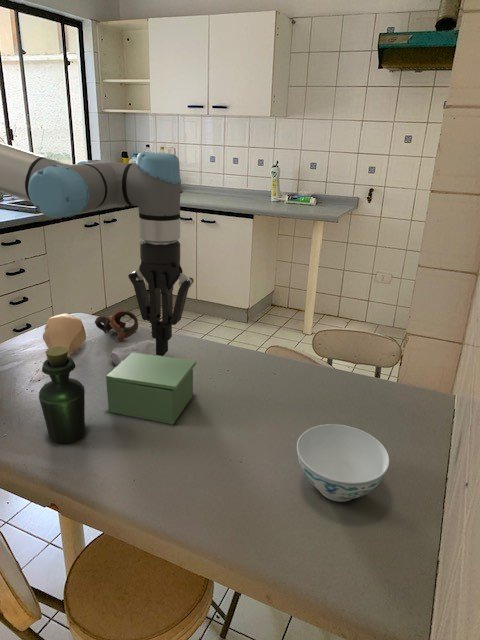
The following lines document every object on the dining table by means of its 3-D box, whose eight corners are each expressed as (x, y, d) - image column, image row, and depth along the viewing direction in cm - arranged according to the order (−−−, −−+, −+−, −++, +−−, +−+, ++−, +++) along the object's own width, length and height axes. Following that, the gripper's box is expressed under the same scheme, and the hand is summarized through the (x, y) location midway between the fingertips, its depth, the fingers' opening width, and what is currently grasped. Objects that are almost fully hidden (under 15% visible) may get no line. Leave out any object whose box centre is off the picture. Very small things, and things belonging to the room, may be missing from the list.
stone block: (168, 371, 119) (152, 349, 125) (169, 356, 116) (153, 335, 123) (123, 384, 113) (109, 360, 120) (123, 368, 110) (109, 345, 117)
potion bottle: (74, 450, 86) (63, 364, 79) (35, 442, 88) (22, 357, 81) (96, 425, 93) (89, 344, 86) (61, 418, 95) (50, 339, 88)
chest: (192, 396, 105) (192, 365, 102) (172, 424, 94) (172, 391, 92) (134, 385, 108) (132, 355, 105) (108, 412, 98) (106, 379, 95)
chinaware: (293, 455, 87) (296, 420, 84) (374, 462, 86) (380, 428, 83) (293, 516, 73) (297, 477, 70) (390, 526, 72) (398, 487, 69)
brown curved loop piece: (134, 327, 141) (140, 309, 135) (133, 352, 135) (140, 334, 129) (93, 321, 136) (98, 302, 131) (90, 346, 130) (96, 327, 125)
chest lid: (196, 364, 102) (196, 360, 101) (176, 390, 91) (175, 386, 91) (132, 355, 105) (132, 352, 105) (106, 379, 95) (105, 376, 95)
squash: (86, 336, 133) (88, 309, 129) (82, 378, 116) (85, 348, 112) (45, 333, 129) (47, 305, 125) (35, 375, 113) (37, 344, 109)
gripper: (199, 239, 89) (198, 350, 98) (137, 233, 92) (141, 340, 101) (185, 248, 82) (184, 366, 91) (118, 240, 85) (124, 355, 94)
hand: (162, 352), depth 96 cm, fingers closed
